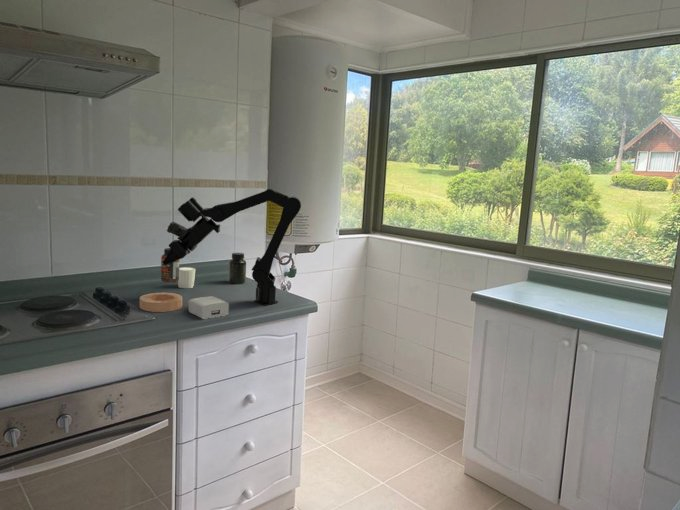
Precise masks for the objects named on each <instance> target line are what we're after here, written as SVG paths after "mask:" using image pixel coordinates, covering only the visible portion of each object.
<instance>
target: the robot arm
mask: <svg viewBox="0 0 680 510" xmlns="http://www.w3.org/2000/svg"><path fill="white" fill-rule="evenodd" d="M267 202H271V203H273V204H275V205H277V206H279V207H282V212H281V214H280V219H279V221H278V224H277V226H276V229H275V231H274V233H273V234H272V236H271V239H270V241H269V244H268V246H267V247H266V250H265V252H264V254H263V255H262V257H259V256H257V258H255V263H254V265H253V266H252V268H251V271H252V273H251V276H252V277H251V278H252V279H253V280H254V282H256V283H257V284H256V288H255V299H253V300H252V302H253V303H256V304H259V305H264V306H270V305H273V304H277V303H279V301H278V300H277V299H276V295H277V294H276V292H277V286H276V285H275V281H276V277H275V275H274V274H273V273H272V272H271V270H272V266H273V261H274V258H275V257H276V254H277V252H278V250H279V248H280V245H281V244H282V241H283V239H284V237H285V235H286V233H287V231H288V229H289V227H290V225H291V224H292V222H293V221H294V219H295V218H296V216H297V215H298V213H299V212H300V210H301V209H302V208H301V207H302V202H301V199H300V198H299V197H297V196H288V195H286V194H283V193H281V192H279V191H277V190H275V189H273V188H267V189H266V190H264V191H261V192H259V193H255V194H253V195H250V196H248V197H245V198H241V199H239V200H236V201H231V202H226V203H225V202H224V203H219V204H216V205H214V206H212V207H205V208H204V207H202V205H201V204H200V203H199V202H198V201H197V199H196V198H195V197H193V196H192V197H191V198H190V199H188V200H186V201H185V203H182V204H180V206H179V207H178V208H177V211H178V212H179V213H180V214H181V215H182V217H184V218H185V219H186V220H187V221H188V222H189V223H190V222H193V223H194V224H193V225H192V226H191V227H188V228H187V227H185V226H184V225H182V224H179V223H178V222H175V221H171V222H170V223H169V225H168V226H167V229H166V232H167V233H169V234H173V235H174V236H177V239H174V240H172V242H170V243H169V244H168V248H170V252H169V254H168V255H167V257H166V258H165V260H164V261H163V264H164V265H166V264H168V263H171V262H174V261H176V260H179V261H180V260H181V259H184V258H185V257H186V256H187V255H188V254H190V253H191V252H193V251H195V249H197V248H198V245H199V244H200V243H201V242H202V241H204V239H205V238H206V237H208V236H209V235H210V234H211V233H213V231H214V232H215V233H216V234H218V233H220V232H221V224H217V223H221V222H224V221H225V220H227V219H229V218H230V217H233V215H235V214H237V213H239V212H242V211H245V210H249V209H250V208H253V207H256V206H259V205H262V204H264V203H267ZM197 220H198V221H197Z"/></svg>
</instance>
